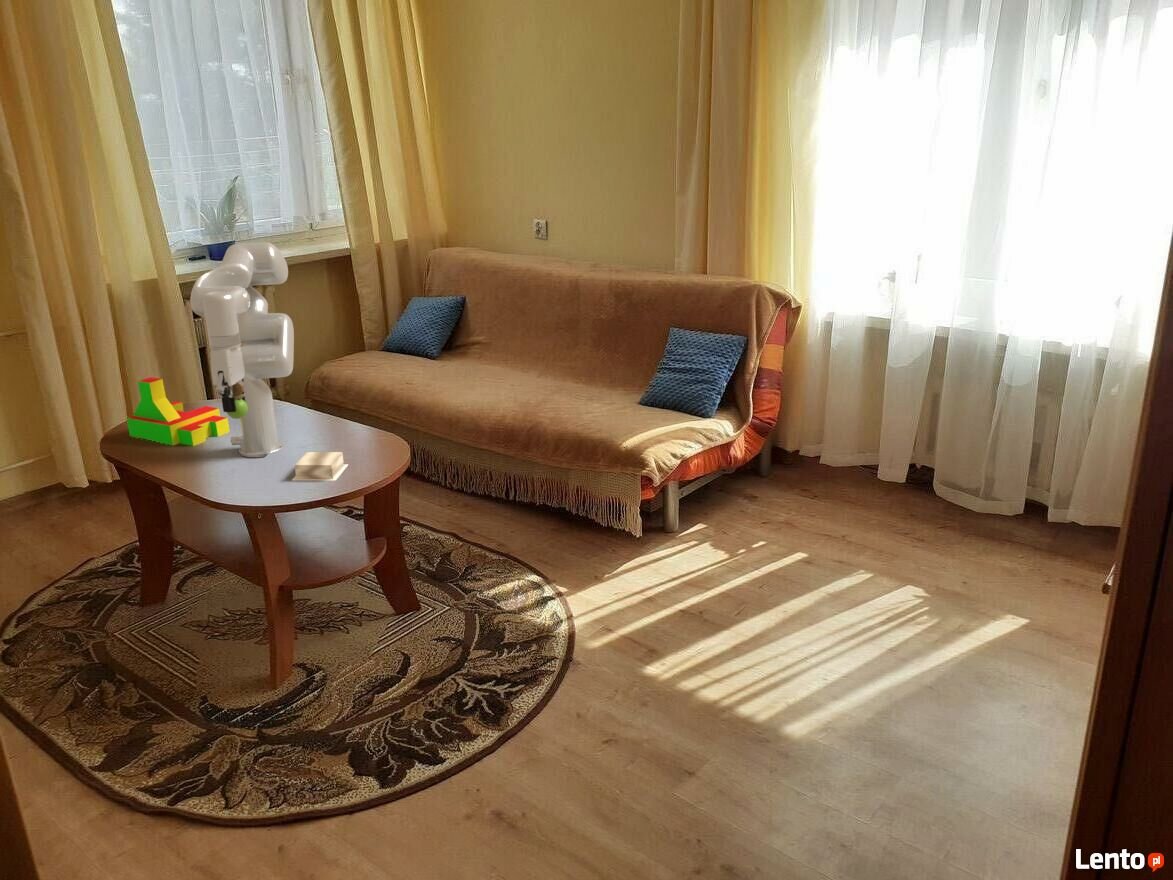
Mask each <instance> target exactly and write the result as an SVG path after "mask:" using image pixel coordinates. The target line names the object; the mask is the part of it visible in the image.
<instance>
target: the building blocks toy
mask: <svg viewBox="0 0 1173 880" xmlns="http://www.w3.org/2000/svg"><path fill="white" fill-rule="evenodd" d="M137 384H138V385H137V386H138V390H139V395H140V400H139V402H138V404H137V406H136V409H135V411H134V413H133V415H130V416H128V417H126V422H127V423H126V424H127V427H128V433H129V437H130V436H134V437H139V438H144V439H148V440H152V441H151V442H153V441H156V442H155V443H158V442H160V443H159V444H163V443H165V444H164V445H168V444H169V446H176V445H179V444H181V445H187V446H192V447H195V446H197V445H200V444H202V443H205V442H207V440H206V438H208V437H209V438H210V437H212V436H213V437H220V436H223V435H226V434H228V433H230V431H231V430H230V425H229V419H228V417H227V416H226V417H225V416H221V413H220V408H219V407H214V406H207V405H204V406H201V407H199V408H198V407H197V408H195V409H192V410H189V411H184V404H183V402H182V401H178V400H176V401H172V402H170V401H169V399H168V398H167V395H166V391H165V386H164V381H163V378H158V377H147V378H143V379H141V380H138V381H137ZM148 440H147V441H148Z"/></svg>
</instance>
